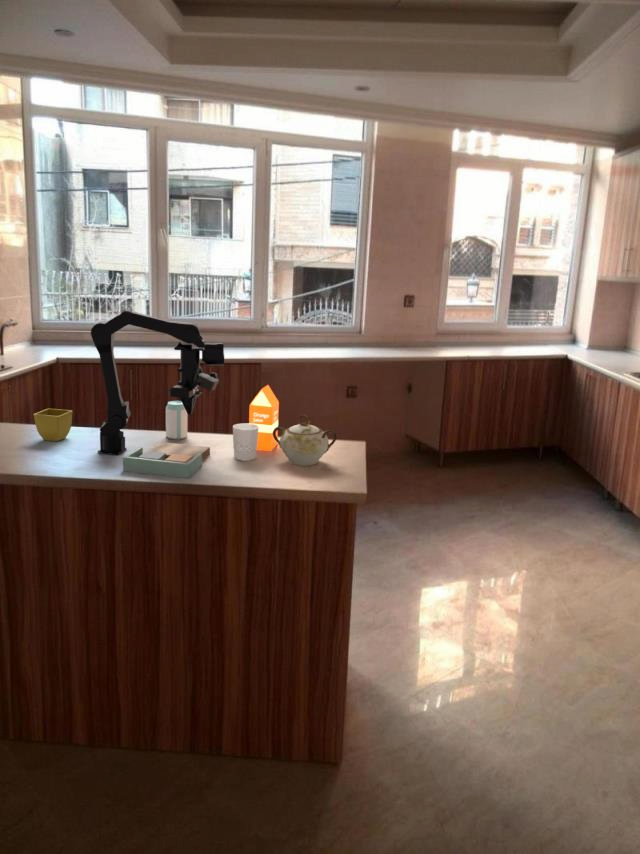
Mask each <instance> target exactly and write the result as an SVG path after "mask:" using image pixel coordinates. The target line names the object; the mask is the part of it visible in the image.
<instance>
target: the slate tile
mask: <svg viewBox="0 0 640 854" xmlns="http://www.w3.org/2000/svg"><path fill="white" fill-rule="evenodd" d="M138 458H145V459H154V460H163V461H165V459H166V453H161V452H149V451H148V450H147V451H144V452H143V454H142V455H141V456H139V457H138Z"/></svg>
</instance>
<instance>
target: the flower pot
mask: <svg viewBox="0 0 640 854" xmlns="http://www.w3.org/2000/svg"><path fill="white" fill-rule="evenodd" d="M33 419H34V423H35V428H36V431H37V432H38V435H39V437H41V439H42V440H44V441H53V442H60V441H61V440H63V439H66V438H67V436H69V433H70V430H71V429H72V422H73V410H70V409H58V408H46V409H43V410H41V411H38V412H36V413H33Z"/></svg>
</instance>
